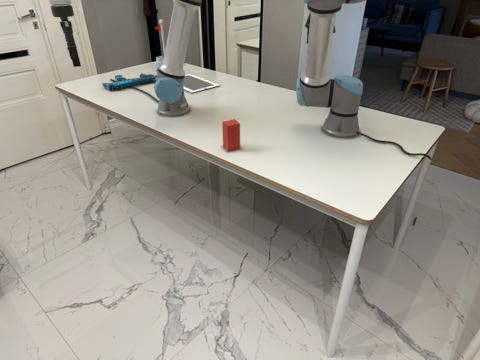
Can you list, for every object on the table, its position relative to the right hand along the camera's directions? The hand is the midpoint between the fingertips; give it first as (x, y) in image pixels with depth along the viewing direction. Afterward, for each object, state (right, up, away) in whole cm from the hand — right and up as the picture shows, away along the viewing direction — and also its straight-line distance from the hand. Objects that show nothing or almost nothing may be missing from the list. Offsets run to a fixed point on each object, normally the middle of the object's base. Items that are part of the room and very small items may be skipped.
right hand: (317, 45), depth 167 cm
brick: (-42, -53, -30) cm, 74 cm away
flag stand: (-91, +16, +75) cm, 119 cm away
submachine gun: (-106, -6, +42) cm, 114 cm away
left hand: (-106, -18, -27) cm, 111 cm away
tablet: (-68, -7, +41) cm, 80 cm away
